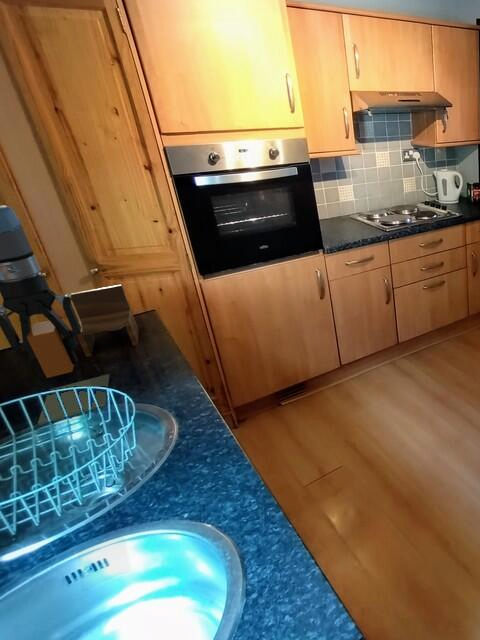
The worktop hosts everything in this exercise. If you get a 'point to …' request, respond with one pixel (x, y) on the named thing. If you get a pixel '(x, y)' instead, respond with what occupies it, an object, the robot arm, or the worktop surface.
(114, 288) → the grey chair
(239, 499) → the worktop surface
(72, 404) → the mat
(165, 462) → the worktop surface
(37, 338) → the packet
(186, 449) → the worktop surface
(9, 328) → the robot arm
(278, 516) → the worktop surface
